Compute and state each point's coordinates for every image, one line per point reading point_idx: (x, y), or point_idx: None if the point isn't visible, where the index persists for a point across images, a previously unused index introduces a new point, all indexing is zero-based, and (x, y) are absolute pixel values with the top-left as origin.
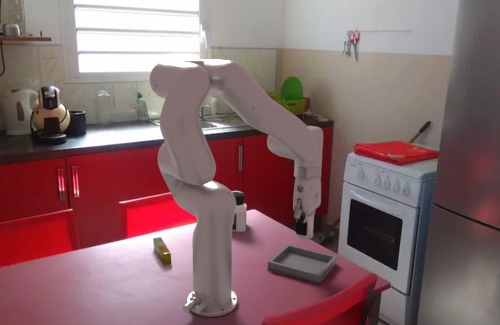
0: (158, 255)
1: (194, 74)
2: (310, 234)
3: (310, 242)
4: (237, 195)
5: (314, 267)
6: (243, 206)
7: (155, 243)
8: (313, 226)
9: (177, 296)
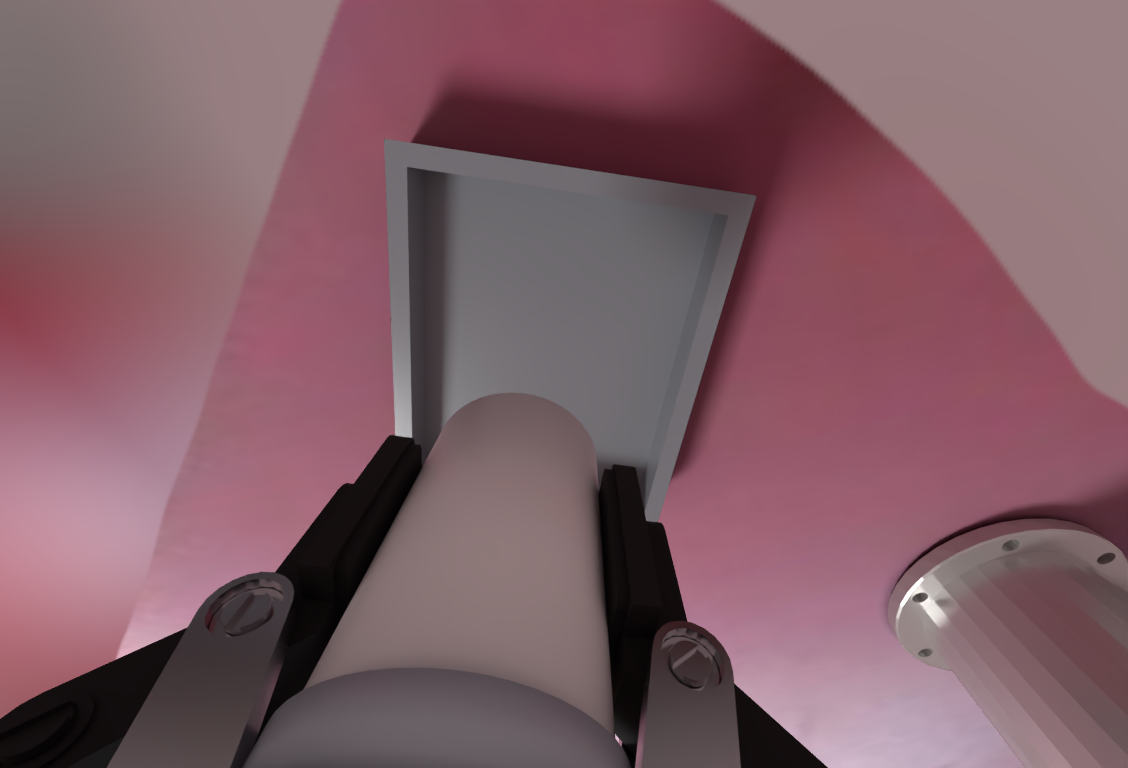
0: None
1: None
2: (557, 430)
3: (221, 378)
4: None
5: (551, 276)
6: None
7: None
8: (399, 455)
9: (946, 684)
